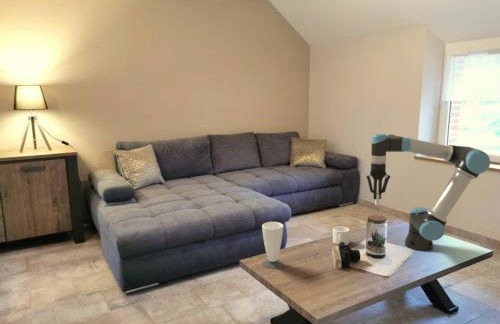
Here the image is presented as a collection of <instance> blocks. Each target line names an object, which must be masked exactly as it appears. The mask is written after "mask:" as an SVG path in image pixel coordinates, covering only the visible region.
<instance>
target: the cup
mask: <svg viewBox="0 0 500 324" xmlns="http://www.w3.org/2000/svg"><path fill="white" fill-rule="evenodd" d="M261 229H262V236H263V237H262V238H263V243H264V245H263V246H264V249H265V253H266V257H267V259H265V260H266V261H264V260H263V261H264V262H263V261H262V262H263V263H261V264H263V265H262V266H263V267H264V266H265V267H264V268H266V267H267V268H266V269H270V268H273V269H274V268H276V269H279V268H282V267H283V266H284V262H283V260H280V259H278V258H279V255H280V250H281V246H282V240H283V235H284V233H283V232H284V224H283V223H281V222H278V221H268V222H265V223H263V224H262V225H261Z"/></svg>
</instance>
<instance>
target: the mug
mask: <svg viewBox="0 0 500 324" xmlns="http://www.w3.org/2000/svg"><path fill="white" fill-rule="evenodd" d="M350 231H351V230H350V228H349V227H347V226H341V225H339V226H334V227H333V228H332V242H333V244H335V246H339V244H340V242H344V243H345V245H349V244H350V240H351V232H350Z"/></svg>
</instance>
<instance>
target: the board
mask: <svg viewBox="0 0 500 324" xmlns="http://www.w3.org/2000/svg"><path fill="white" fill-rule="evenodd" d="M331 248H332V249H331V254H332V259H333V265H334V269H336V270H337V269H340V270H341V269H342V264H341V256H340V252H339V245H332V246H331Z"/></svg>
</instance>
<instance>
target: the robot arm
mask: <svg viewBox="0 0 500 324" xmlns="http://www.w3.org/2000/svg"><path fill="white" fill-rule="evenodd" d="M370 143H371V151H370V152H371V158H370V162H371V163H370V171H369V173H368V174H366V175H365V178H366V179H367V183H368V184H367V185H368V187H369V192H370V193H371V194H373V200H374V205H375V206H377V207H378V206H380V200H381V199H382V194H383V193H385V192H386V190H387V186H388V182H389V180H390V178H391V175H389V174H388V173H387V169H386V167H387V163H386V162H387V153H393V152H395V153H399V152H400V153H404V152H406V153H407V152H408V153H413V154H417V155H422V156H427V157H432V158H437V159H441V160H444V162H447V163H451V164H454V171H455V172H454V173H453V175H452V176H451V177H450V179H449V181H448V182H447V183H446V185H445V187H444V188H443V190H442V192H441V193H440V194H439V196H438V197H437V199H436V201H434V203H433V205H432V207H431V208H429V207H419V206H417V207H415V206H414V207H411V208H410V212H409V220H408V221H409V223H408V225H409V226H408V232H407V235H406V237H405V240H404V245H405V247H406V248H409V249H411V250H414V251H420V252H421V251H423V252H424V251H426V252H428V251H431V250H433V248H434V243H433V241H437V240H438V241H439V240H440V239H441V238H442V237H443V236H444V235H445V226H446V224H447V223H448V220H447V217H449V214H450V213H451V211H452V210H453V208H454V207H455V205H456V204H457V203H458V200H459V199H460V197H461V196H462V195H463V193H464V192H465V190H466V189H467V187H468V186H469V184H470V183H471V181H472V180H475V179H477V178H478V176H479V175H481V174H483V173H485V172H487V171H488V170H489V168H490V165H491V159H490V156H489V155H488V153H487V152H485V151H483V150H480V149H478V148H474V147H472V146H464V145H462V146H461V145H455V144H454V145H453V144H448V145H444V144H439V143H434V142H430V141H425V140H420V139H415V138H410V137H405V136H399V135H395V134H392V133H391V134H390V133H389V134H385V133H375V134H374V133H373V135H372V136H371V142H370ZM371 178H372V179H373V184H372V180H371ZM383 179H384V180H383Z"/></svg>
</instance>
